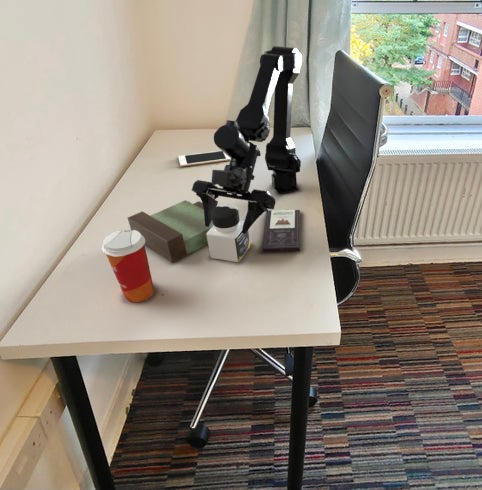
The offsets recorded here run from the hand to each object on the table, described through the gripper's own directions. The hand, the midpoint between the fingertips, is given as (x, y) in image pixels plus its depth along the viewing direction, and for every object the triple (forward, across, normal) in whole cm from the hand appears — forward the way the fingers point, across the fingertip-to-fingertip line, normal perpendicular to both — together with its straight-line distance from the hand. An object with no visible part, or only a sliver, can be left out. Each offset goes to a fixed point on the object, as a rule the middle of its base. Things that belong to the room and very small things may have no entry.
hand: (224, 230), depth 101 cm
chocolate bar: (-4, +8, +14) cm, 17 cm away
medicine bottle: (+4, 0, +6) cm, 7 cm away
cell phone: (-28, -33, +38) cm, 58 cm away
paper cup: (+18, -11, -8) cm, 22 cm away
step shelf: (+1, -14, +9) cm, 17 cm away
